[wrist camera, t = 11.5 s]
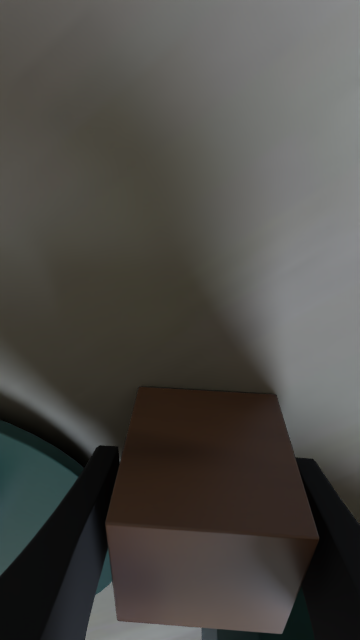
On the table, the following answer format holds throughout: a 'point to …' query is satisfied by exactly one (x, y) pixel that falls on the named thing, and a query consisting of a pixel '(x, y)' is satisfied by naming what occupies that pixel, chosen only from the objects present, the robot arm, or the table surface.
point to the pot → (294, 636)
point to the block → (208, 513)
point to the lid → (32, 491)
